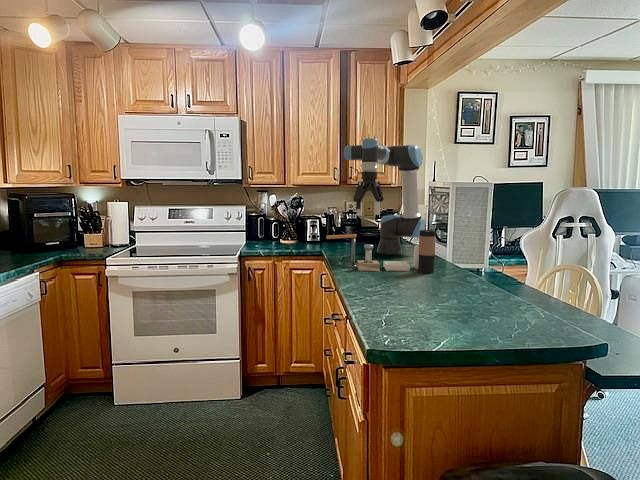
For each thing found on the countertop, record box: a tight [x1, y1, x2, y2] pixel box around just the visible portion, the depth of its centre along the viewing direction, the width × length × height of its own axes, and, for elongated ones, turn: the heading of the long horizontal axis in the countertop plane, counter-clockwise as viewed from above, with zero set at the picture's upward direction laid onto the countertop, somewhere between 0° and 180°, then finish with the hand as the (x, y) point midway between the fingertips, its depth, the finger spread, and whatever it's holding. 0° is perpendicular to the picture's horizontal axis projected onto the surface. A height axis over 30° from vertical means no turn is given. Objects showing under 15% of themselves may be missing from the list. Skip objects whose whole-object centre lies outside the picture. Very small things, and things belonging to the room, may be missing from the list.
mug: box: [413, 244, 419, 270], centre depth 238 cm, size 12×9×11 cm
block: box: [356, 259, 381, 272], centre depth 234 cm, size 10×10×4 cm
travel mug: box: [418, 229, 437, 275], centre depth 226 cm, size 8×8×20 cm
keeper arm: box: [325, 233, 357, 240], centre depth 235 cm, size 17×3×1 cm, turn 122°
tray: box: [382, 260, 411, 272], centre depth 235 cm, size 11×11×3 cm
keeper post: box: [348, 237, 357, 268], centre depth 240 cm, size 4×4×15 cm
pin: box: [363, 243, 374, 263], centre depth 233 cm, size 4×4×12 cm
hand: (368, 215), depth 231 cm, fingers open, 13 cm apart
